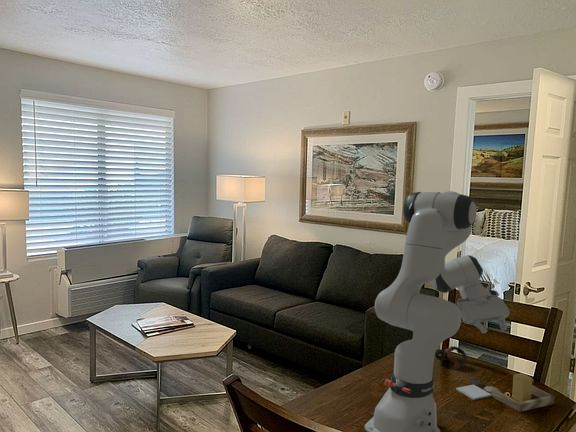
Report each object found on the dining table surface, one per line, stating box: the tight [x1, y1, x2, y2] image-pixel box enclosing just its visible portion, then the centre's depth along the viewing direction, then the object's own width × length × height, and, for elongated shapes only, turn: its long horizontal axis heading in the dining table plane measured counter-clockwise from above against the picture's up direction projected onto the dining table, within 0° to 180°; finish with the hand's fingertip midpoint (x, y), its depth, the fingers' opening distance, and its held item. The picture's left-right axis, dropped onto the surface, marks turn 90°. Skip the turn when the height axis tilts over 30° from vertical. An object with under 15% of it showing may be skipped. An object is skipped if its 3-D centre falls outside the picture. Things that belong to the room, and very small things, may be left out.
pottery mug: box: [434, 345, 468, 370], centre depth 176 cm, size 12×10×8 cm
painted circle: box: [483, 385, 501, 394], centre depth 155 cm, size 5×5×1 cm
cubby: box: [491, 385, 556, 413], centre depth 148 cm, size 16×11×2 cm
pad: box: [455, 384, 492, 401], centre depth 153 cm, size 8×8×1 cm
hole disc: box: [468, 379, 485, 388], centre depth 160 cm, size 5×5×1 cm
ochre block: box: [511, 372, 533, 402], centre depth 149 cm, size 4×4×8 cm
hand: (495, 330), depth 159 cm, fingers open, 8 cm apart
